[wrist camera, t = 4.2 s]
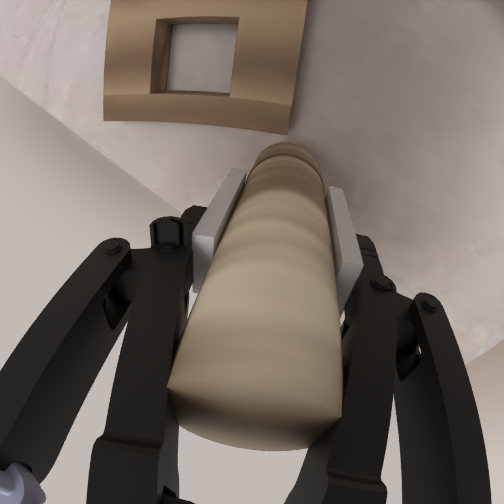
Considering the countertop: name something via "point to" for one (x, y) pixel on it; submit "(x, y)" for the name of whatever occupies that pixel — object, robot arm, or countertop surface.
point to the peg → (266, 317)
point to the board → (195, 102)
